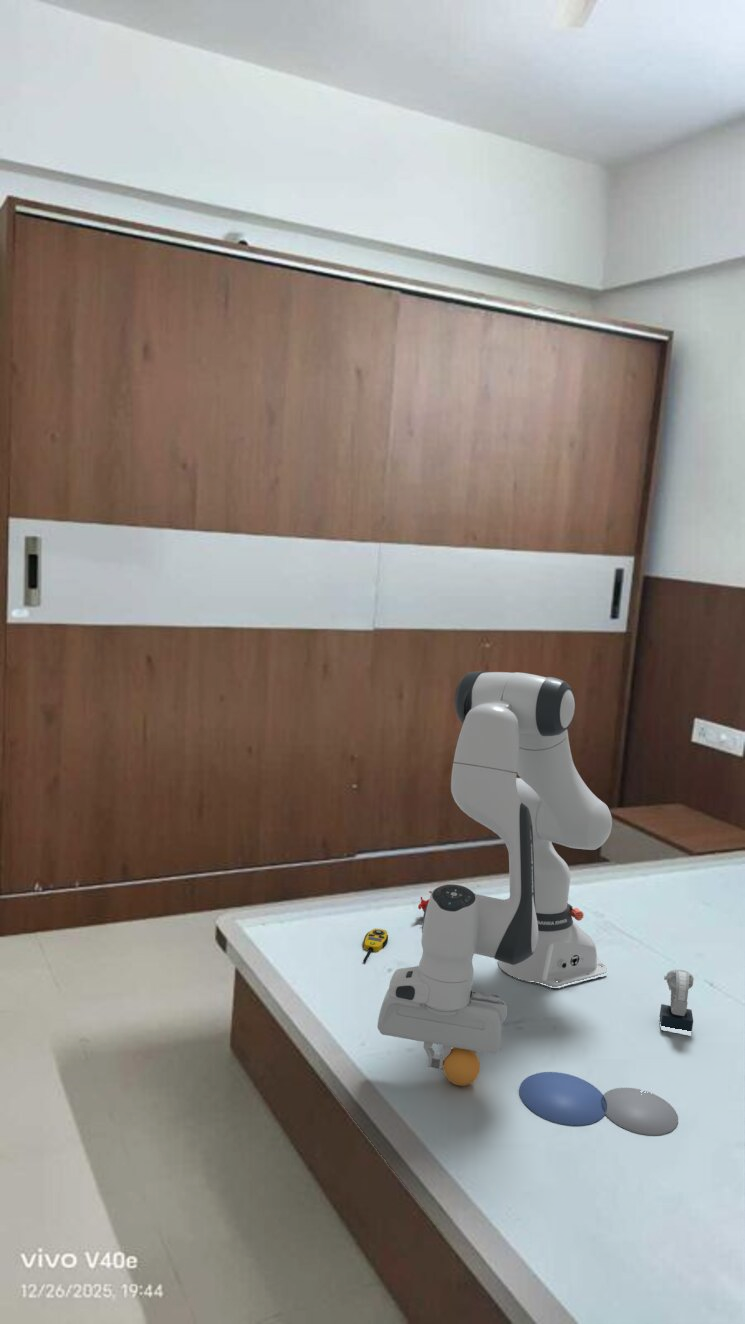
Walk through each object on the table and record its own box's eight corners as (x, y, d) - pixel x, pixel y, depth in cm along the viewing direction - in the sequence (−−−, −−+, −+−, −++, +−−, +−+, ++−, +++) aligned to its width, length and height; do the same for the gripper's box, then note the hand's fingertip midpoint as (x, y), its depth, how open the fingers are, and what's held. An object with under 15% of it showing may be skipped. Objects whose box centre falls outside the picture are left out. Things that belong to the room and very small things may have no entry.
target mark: (576, 1068, 165) (576, 1067, 165) (624, 1118, 153) (624, 1117, 152) (503, 1079, 160) (503, 1078, 160) (547, 1131, 148) (547, 1130, 148)
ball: (454, 1066, 163) (478, 1043, 162) (467, 1097, 158) (492, 1074, 157) (430, 1057, 160) (455, 1034, 158) (443, 1088, 155) (469, 1065, 153)
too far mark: (647, 1084, 162) (647, 1083, 162) (694, 1128, 151) (694, 1127, 151) (586, 1094, 158) (586, 1093, 158) (629, 1140, 147) (629, 1139, 147)
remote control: (391, 929, 211) (375, 958, 196) (391, 937, 211) (375, 967, 197) (370, 925, 212) (352, 954, 197) (369, 933, 212) (352, 963, 198)
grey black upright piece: (688, 1019, 185) (696, 966, 183) (691, 1041, 177) (699, 985, 175) (658, 1014, 186) (665, 960, 184) (660, 1035, 178) (667, 979, 177)
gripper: (509, 988, 158) (500, 1067, 160) (386, 968, 162) (378, 1045, 164) (507, 1007, 152) (498, 1088, 154) (379, 985, 155) (372, 1065, 157)
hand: (435, 1066), depth 159 cm, fingers closed
